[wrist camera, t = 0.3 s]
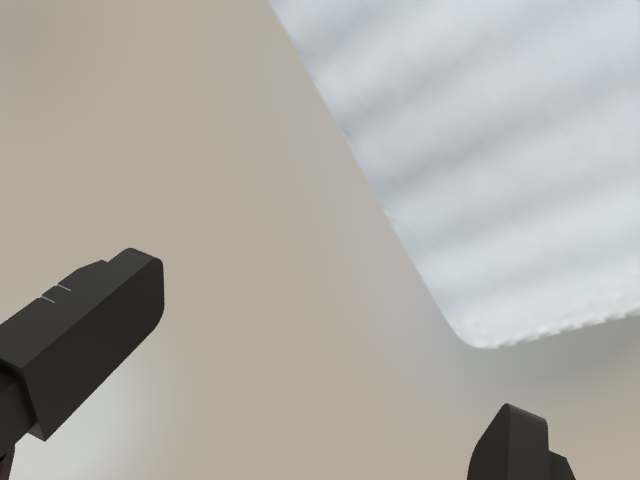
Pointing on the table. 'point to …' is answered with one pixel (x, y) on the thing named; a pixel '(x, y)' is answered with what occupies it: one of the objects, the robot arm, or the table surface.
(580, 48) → the table surface
